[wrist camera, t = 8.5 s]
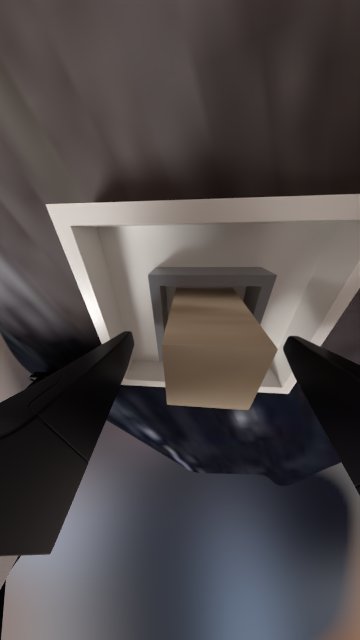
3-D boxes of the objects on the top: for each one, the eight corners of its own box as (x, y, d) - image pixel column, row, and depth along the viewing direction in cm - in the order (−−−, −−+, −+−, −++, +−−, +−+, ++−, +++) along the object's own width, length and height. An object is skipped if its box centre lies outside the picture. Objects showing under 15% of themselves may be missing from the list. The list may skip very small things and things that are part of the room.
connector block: (224, 334, 12) (248, 410, 7) (177, 332, 12) (167, 404, 7) (233, 288, 10) (278, 349, 5) (176, 287, 10) (161, 344, 5)
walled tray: (271, 365, 15) (288, 393, 12) (129, 359, 16) (118, 384, 13) (348, 204, 8) (424, 191, 5) (87, 212, 9) (45, 204, 6)
